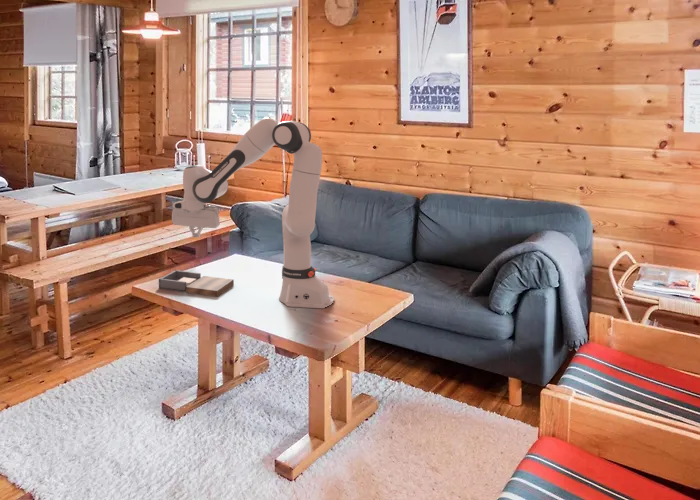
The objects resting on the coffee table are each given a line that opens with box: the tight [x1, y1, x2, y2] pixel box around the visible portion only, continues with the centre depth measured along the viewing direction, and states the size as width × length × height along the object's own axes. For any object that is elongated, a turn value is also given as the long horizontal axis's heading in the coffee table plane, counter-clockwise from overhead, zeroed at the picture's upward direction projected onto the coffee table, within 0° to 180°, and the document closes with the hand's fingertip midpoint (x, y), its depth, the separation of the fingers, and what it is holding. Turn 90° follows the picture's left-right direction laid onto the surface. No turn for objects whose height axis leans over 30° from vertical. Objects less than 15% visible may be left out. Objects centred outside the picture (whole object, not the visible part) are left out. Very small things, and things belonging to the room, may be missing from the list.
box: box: [158, 269, 202, 293], centre depth 272 cm, size 12×14×4 cm
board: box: [185, 275, 235, 297], centre depth 269 cm, size 14×16×2 cm
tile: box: [178, 277, 196, 286], centre depth 271 cm, size 6×6×2 cm
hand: (196, 236), depth 267 cm, fingers closed
